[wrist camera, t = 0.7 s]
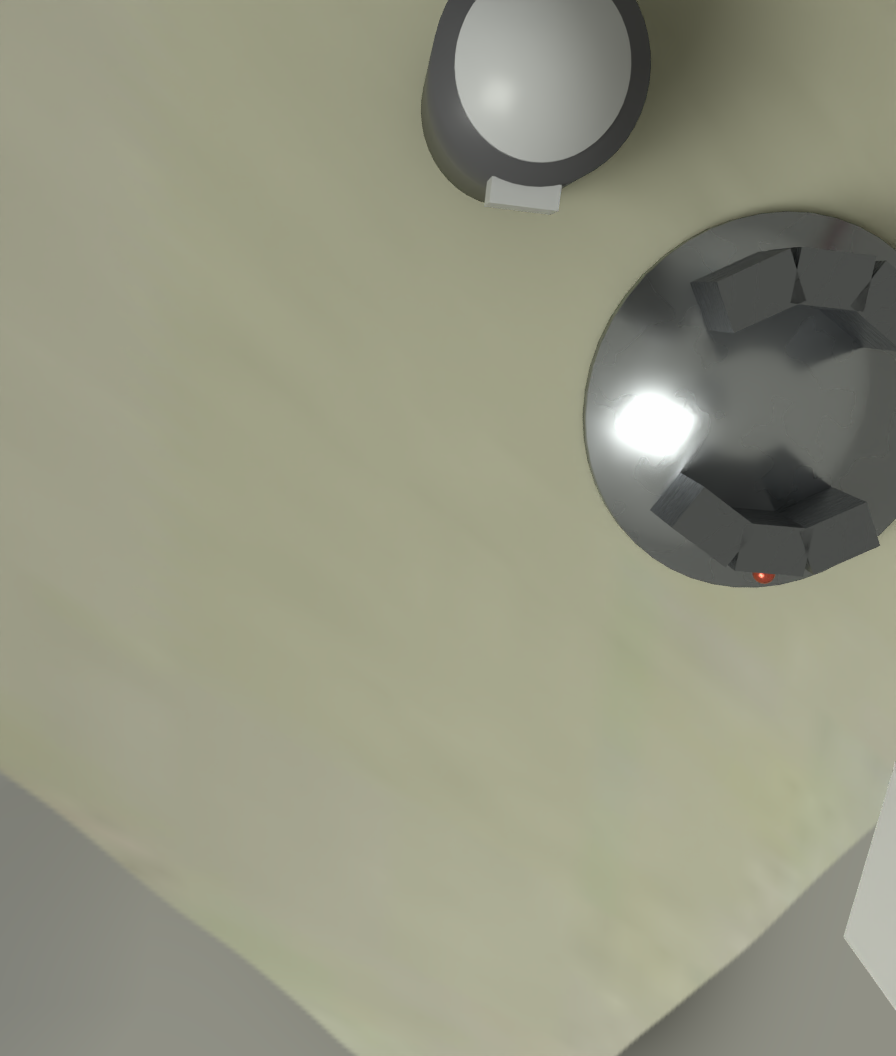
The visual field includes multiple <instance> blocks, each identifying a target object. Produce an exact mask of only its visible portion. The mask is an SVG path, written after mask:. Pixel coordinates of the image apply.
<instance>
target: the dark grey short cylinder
mask: <svg viewBox="0 0 896 1056" xmlns="http://www.w3.org/2000/svg"><path fill="white" fill-rule="evenodd" d="M650 69H651V56H650V45H649V38H648V33H647V29H646V25H645V21H644V18H643V16H642V13H641V11H640V8H639V6H638V4H637V2H636V0H448V2H447V4H446V6H445V8H444V11H443V13H442V15H441V18H440V20H439V24H438V27H437V31H436V35H435V39H434V43H433V47H432V52H431V56H430V61H429V65H428V69H427V74H426V78H425V83H424V87H423V93H422V100H421V118H422V127H423V132H424V137H425V140H426V143H427V146H428V149H429V151H430V153H431V155H432V157H433V160H434V161H435V163H436V165H437V166H438V168H439V169H440V171H441V172H442V173H443V174H444V176H445V177H446V178H447V179H448V180H449V181H450V182H451V183H452V184H453V185H454V186H455V187H456V188H458V189H459V190H461V191H462V192H463V193H465V194H466V195H468V196H470V197H472V198H474V199H476V200H478V201H481V202H484V203H485V204H484V206H485V207H493V208H501V209H509V210H517V211H525V212H533V213H541V214H549V215H551V214H553V213H555V212H557V211H558V210H559V203H560V195H561V188H563V187H565V186H567V185H569V184H570V183H572V182H574V181H576V180H577V179H579V178H581V177H583V176H585V175H586V174H588V173H590V172H592V171H594V170H595V169H597V168H598V167H599V166H601V165H602V164H603V163H605V162H606V161H607V160H608V159H609V158H610V157H611V156H612V155H614V154H615V153H616V152H617V151H618V149H619V148H620V147H621V146H622V144H623V143H624V142H625V141H626V139H627V138H628V136H629V135H630V133H631V131H632V130H633V128H634V127H635V125H636V122H637V120H638V118H639V116H640V114H641V111H642V108H643V106H644V103H645V100H646V96H647V91H648V86H649V80H650Z"/></svg>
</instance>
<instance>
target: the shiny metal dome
mask: <svg viewBox="0 0 896 1056" xmlns="http://www.w3.org/2000/svg"><path fill="white" fill-rule="evenodd" d="M583 430H584V443H585V448H586V454H587V459H588V464H589V467H590V470H591V473H592V476H593V479H594V483H595V485H596V487H597V489H598V492H599V494H600V496H601V498H602V500H603V502H604V504H605V506H606V507H607V509H608V510H609V512H610V513H611V515H612V516H613V518H614V519H615V521H616V522H617V524H618V525H619V526H620V527H621V528H622V529H623V530H624V531H625V533H626V534H627V535H628V536H629V537H630V538H631V539H632V540H633V541H634V542H635V543H636V544H637V545H638V546H639V547H641V548H642V549H643V550H644V551H645V552H647V553H648V554H649V555H650V556H651V557H653V558H654V559H656V560H657V561H659V562H661V563H662V564H664V565H665V566H667V567H669V568H670V569H672V570H674V571H677V572H679V573H681V574H683V575H686V576H688V577H690V578H693V579H697V580H700V581H704V582H707V583H711V584H716V585H723V586H730V587H764V586H773V585H780V584H785V583H789V582H793V581H797V580H801V579H804V578H807V577H809V576H812V575H815V574H818V573H820V572H823V571H825V570H827V569H829V568H831V567H833V566H835V565H837V564H839V563H842V562H844V561H846V560H848V559H851V558H853V557H855V556H858V555H860V554H862V553H864V552H867V551H869V550H871V549H874V548H876V547H878V546H880V544H879V541H878V537H877V536H878V535H880V534H881V533H882V532H883V531H884V530H885V529H886V528H887V527H888V526H889V525H890V524H891V523H892V522H893V521H894V520H895V519H896V250H894V249H893V248H892V247H890V246H889V245H888V244H887V243H885V242H884V241H883V240H881V239H880V238H879V237H877V236H875V235H873V234H871V233H870V232H868V231H866V230H864V229H862V228H861V227H859V226H856V225H854V224H851V223H848V222H846V221H843V220H840V219H837V218H834V217H829V216H824V215H819V214H815V213H805V212H787V211H786V212H775V213H764V214H757V215H753V216H748V217H744V218H740V219H735V220H731V221H728V222H725V223H723V224H720V225H718V226H715V227H712V228H710V229H707V230H705V231H703V232H701V233H699V234H697V235H696V236H694V237H692V238H690V239H688V240H686V241H684V242H683V243H681V244H680V245H678V246H677V247H676V248H674V249H673V250H671V251H670V252H669V253H667V254H666V255H664V256H663V257H662V258H660V259H659V260H658V261H657V262H656V263H655V264H654V265H653V266H652V267H651V268H650V269H649V270H647V271H646V272H645V273H644V274H643V275H642V276H641V277H640V278H639V280H638V281H637V282H636V283H635V284H634V286H633V287H632V288H631V289H630V290H629V291H628V293H627V294H626V295H625V296H624V298H623V299H622V301H621V302H620V304H619V305H618V307H617V308H616V310H615V311H614V313H613V315H612V316H611V318H610V320H609V322H608V324H607V326H606V328H605V330H604V332H603V334H602V336H601V338H600V340H599V342H598V345H597V348H596V351H595V353H594V356H593V359H592V362H591V365H590V369H589V374H588V378H587V383H586V388H585V396H584V407H583Z"/></svg>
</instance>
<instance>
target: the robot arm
mask: <svg viewBox="0 0 896 1056" xmlns="http://www.w3.org/2000/svg"><path fill="white" fill-rule="evenodd" d="M844 938H845V940H846V941H847V943H848V944H849V945H850V947H851V948H852V950H853V951H854V952H855V954H856V955H857V957H858V958H859V959H860V961H861V962H862V964H863V965H864V966H865V968H866V969H867V971H868V972H869V973H870V975H871V976H872V978H873V979H874V980H875V982H876V983H877V985H878V986H879V987H880V989H881V990H882V992H883V993H884V995H885V996H886V997H887V999H888V1000H889V1002H890V1003H891V1004H892V1006H893V1007H894V1009H895V1010H896V762H895V765H894V768H893V771H892V775H891V778H890V782H889V785H888V788H887V792H886V795H885V798H884V802H883V805H882V809H881V812H880V815H879V819H878V822H877V825H876V829H875V832H874V836H873V839H872V843H871V846H870V849H869V853H868V856H867V859H866V863H865V866H864V869H863V873H862V876H861V880H860V883H859V886H858V890H857V893H856V897H855V900H854V903H853V907H852V910H851V913H850V917H849V920H848V923H847V927H846V930H845V934H844Z"/></svg>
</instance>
